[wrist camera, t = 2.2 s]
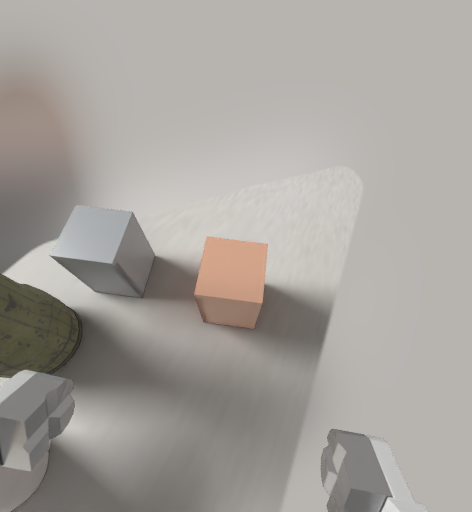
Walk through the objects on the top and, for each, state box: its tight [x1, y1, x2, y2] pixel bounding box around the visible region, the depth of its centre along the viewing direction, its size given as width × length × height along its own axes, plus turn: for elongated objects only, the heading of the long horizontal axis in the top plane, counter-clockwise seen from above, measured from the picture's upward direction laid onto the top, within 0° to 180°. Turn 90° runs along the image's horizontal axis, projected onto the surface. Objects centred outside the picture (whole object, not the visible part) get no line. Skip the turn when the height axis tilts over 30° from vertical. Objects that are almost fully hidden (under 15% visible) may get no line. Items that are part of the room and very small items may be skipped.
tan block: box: [194, 237, 268, 329], centre depth 31 cm, size 6×6×10 cm
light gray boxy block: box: [49, 205, 155, 298], centre depth 32 cm, size 6×6×10 cm
